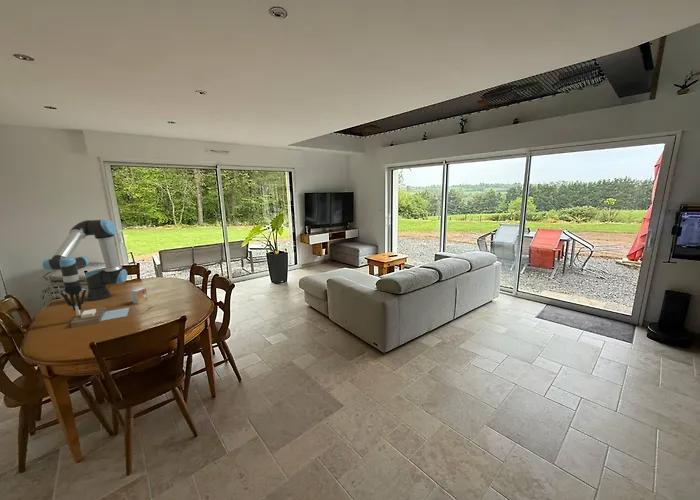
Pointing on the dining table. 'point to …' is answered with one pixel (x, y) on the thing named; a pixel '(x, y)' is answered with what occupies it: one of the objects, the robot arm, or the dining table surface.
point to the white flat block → (88, 313)
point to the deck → (88, 318)
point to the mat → (115, 314)
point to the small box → (139, 295)
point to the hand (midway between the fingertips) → (78, 314)
